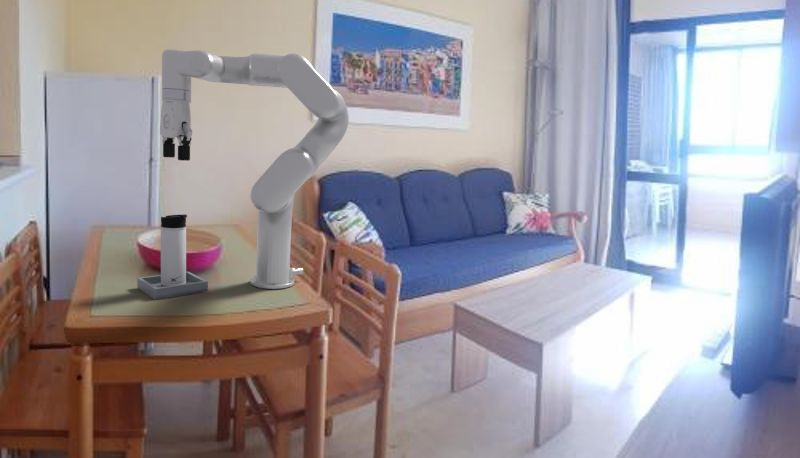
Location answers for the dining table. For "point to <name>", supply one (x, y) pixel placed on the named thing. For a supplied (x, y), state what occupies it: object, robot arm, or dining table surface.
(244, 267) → the dining table surface
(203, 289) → the tray
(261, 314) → the dining table surface
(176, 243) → the travel mug
